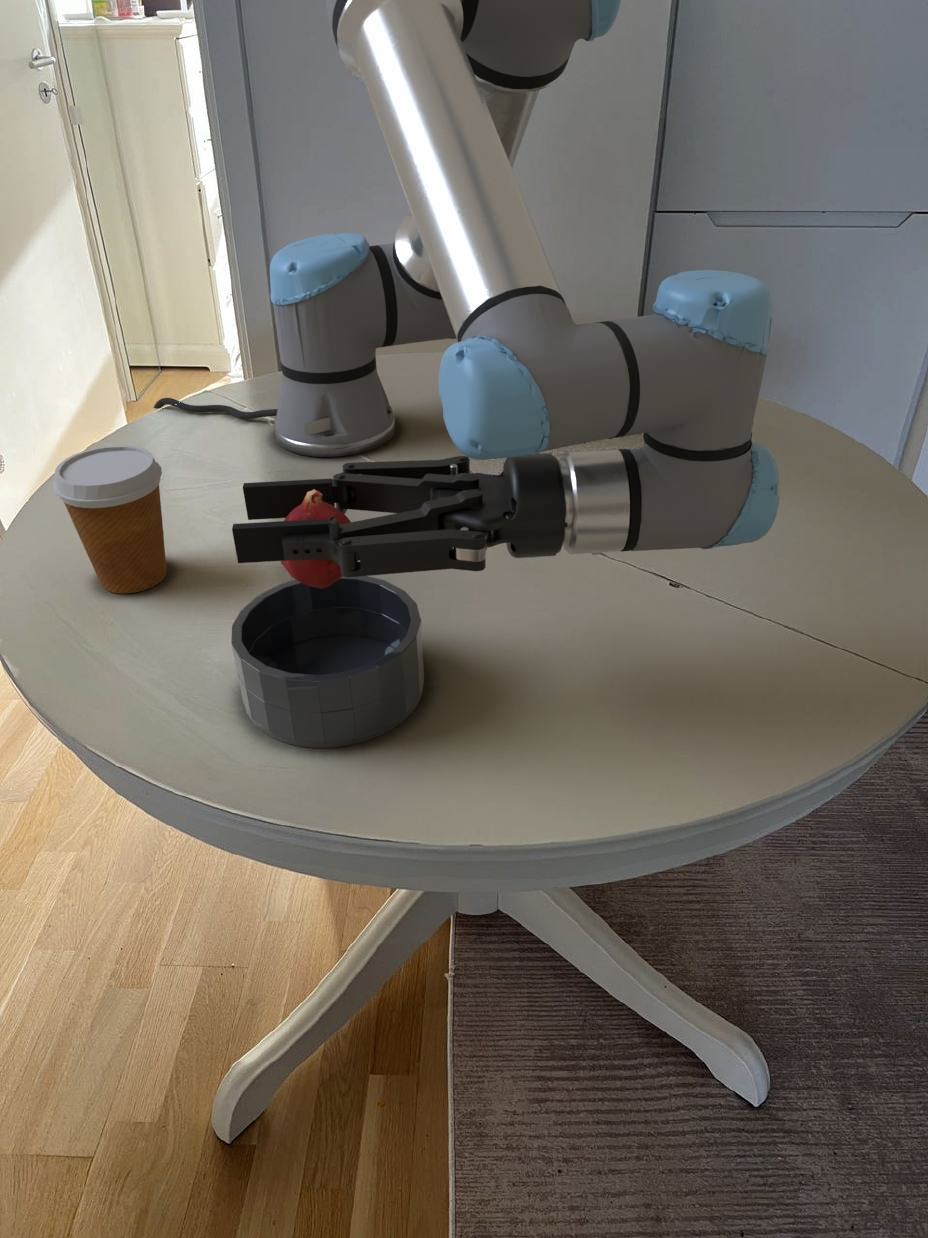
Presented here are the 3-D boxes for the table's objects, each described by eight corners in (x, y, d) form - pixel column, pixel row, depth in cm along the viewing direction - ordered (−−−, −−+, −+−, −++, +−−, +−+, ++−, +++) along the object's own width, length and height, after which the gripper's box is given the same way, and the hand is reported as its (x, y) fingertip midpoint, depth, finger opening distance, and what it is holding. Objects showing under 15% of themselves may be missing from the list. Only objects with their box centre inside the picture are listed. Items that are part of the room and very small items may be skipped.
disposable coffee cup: (87, 613, 85) (52, 496, 78) (79, 564, 92) (46, 454, 85) (191, 589, 88) (166, 475, 81) (175, 544, 95) (151, 436, 88)
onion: (347, 612, 67) (336, 514, 62) (272, 604, 68) (257, 508, 63) (369, 571, 72) (361, 477, 67) (299, 564, 73) (287, 472, 68)
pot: (208, 691, 75) (193, 626, 72) (344, 616, 84) (337, 555, 80) (322, 776, 67) (312, 708, 63) (460, 683, 76) (458, 618, 72)
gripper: (580, 617, 62) (233, 639, 61) (539, 493, 77) (261, 508, 76) (587, 519, 58) (213, 540, 56) (541, 408, 73) (247, 422, 72)
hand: (241, 521), depth 66 cm, fingers closed on onion, 6 cm apart
